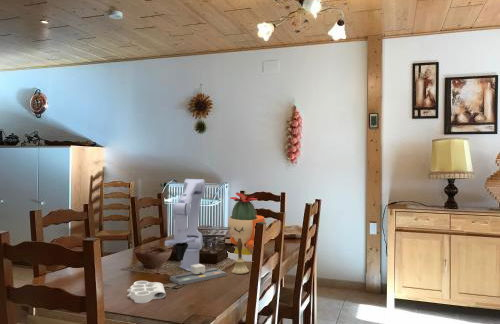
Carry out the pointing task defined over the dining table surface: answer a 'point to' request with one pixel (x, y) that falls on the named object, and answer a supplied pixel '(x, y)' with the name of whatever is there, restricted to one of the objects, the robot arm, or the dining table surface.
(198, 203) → the robot arm
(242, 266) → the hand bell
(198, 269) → the white block
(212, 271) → the selector board
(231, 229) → the potted cactus
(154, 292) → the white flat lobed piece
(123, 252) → the dining table surface
